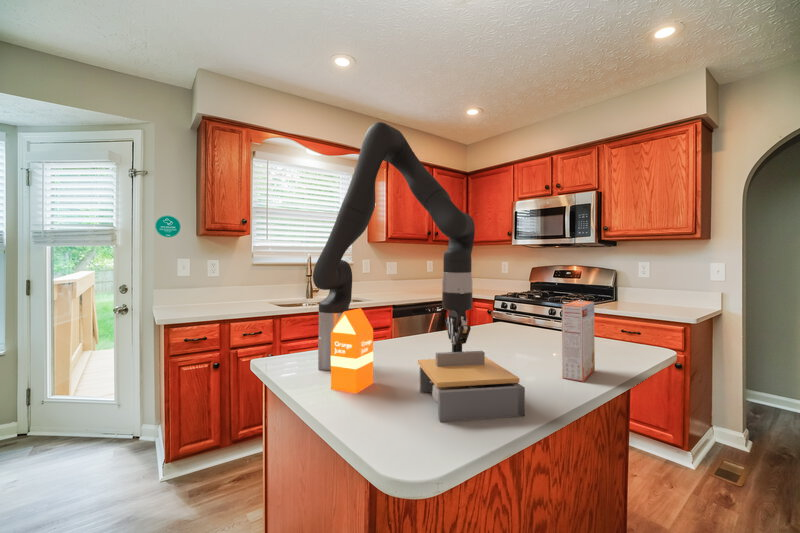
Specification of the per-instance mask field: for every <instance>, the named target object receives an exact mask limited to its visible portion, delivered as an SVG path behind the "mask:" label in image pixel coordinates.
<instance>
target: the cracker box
mask: <svg viewBox="0 0 800 533" xmlns="http://www.w3.org/2000/svg"><path fill="white" fill-rule="evenodd" d="M561 335H562V336H561V338H562V339H561V342H562V343H561V350H562V352H561V355H562V356H561V357H562V359H561V360H562V364H561V365H562V366H561V367H562V379H564V380H570V381H577V382H581V383H584V382H585V381H586V380H587V379H588V378H589V377H590V376H591V374H593V372H595V370H596V364H595V363H596V361H595V359H596V358H595V357H596V356H595V349H596V348H595V301H589V300H588V301H587V300H586V301H585V300H574V301H571V302H567V303H566V304H562V305H561Z"/></svg>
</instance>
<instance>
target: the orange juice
mask: <svg viewBox="0 0 800 533" xmlns="http://www.w3.org/2000/svg"><path fill="white" fill-rule="evenodd" d="M372 384H374V328H373V327H372V325H371V323H370V322H369V320H368V318H367V316H366V314H365V312H364V311H363V309H362V308H356V309H349V311H345V312H344V313H343V314H342V316H341V318H340V319H339V321H338V323H337V324H336V326H335V327H334V329H333V331H332V332H331V370H330V390H333V391H334V390H335V391H341V392H346V393H352V394H357V393H359V392H361V391H363V390H365V389H366V388H368V387H369V386H370V385H372Z"/></svg>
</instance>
